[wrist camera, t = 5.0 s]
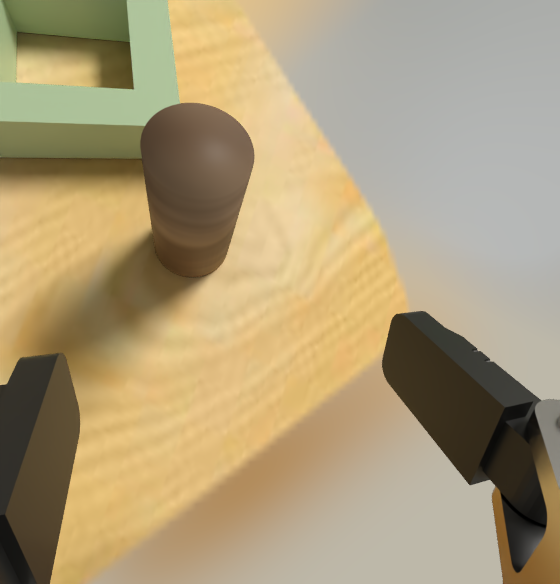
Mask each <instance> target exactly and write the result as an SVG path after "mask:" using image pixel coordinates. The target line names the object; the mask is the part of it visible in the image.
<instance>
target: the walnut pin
mask: <svg viewBox="0 0 560 584" xmlns="http://www.w3.org/2000/svg"><path fill="white" fill-rule="evenodd" d="M140 149H141V156H142V163H143V170H144V177H145V184H146V191H147V198H148V204H149V211H150V218H151V225H152V232H153V239H154V246H155V251H156V254H157V256H158V258H159V260H160V261H161V263H162V264H163V265H164V266H165V267H166V268H167V269H169V270H170V271H172V272H174V273H176V274H178V275H181V276H185V277H200V276H204V275H207V274H210V273H211V272H213V271H215V270H216V269H217V268H218V267H219V266H220V265H221V264H222V263H223V261H224V259H225V257H226V255H227V252H228V248H229V245H230V242H231V238H232V235H233V232H234V228H235V225H236V222H237V218H238V215H239V212H240V208H241V205H242V202H243V198H244V195H245V192H246V188H247V185H248V182H249V178H250V175H251V172H252V168H253V164H254V149H253V145H252V142H251V139H250V137H249V135H248V133H247V132H246V130H245V129H244V128H243V126H242V125H241V124H240V123H239V122H238V121H237V120H235V119H234V118H233V117H232V116H230V115H229V114H227V113H226V112H224V111H222V110H220V109H218V108H215V107H212V106H209V105H205V104H200V103H181V104H176V105H172V106H169V107H166V108H164V109H162V110H160V111H159V112H157V113H156V114H155V115H154V116H152V117H151V118H150V120H149V121H148V122H147V123H146V125H145V127H144V129H143V132H142V134H141V140H140Z"/></svg>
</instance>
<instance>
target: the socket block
mask: <svg viewBox="0 0 560 584" xmlns="http://www.w3.org/2000/svg"><path fill="white" fill-rule="evenodd" d="M17 32H24V33H35V34H46V35H57V36H68V37H79V38H90V39H101V40H112V41H123V42H130V47H131V59H132V71H133V83H134V89H116V88H99V87H82V86H65V85H47V84H30V83H16V56H17ZM176 104H180V101H179V92H178V84H177V76H176V67H175V59H174V51H173V43H172V34H171V26H170V18H169V9H168V1H167V0H0V157H8V158H118V159H142V156H141V149H140V140H141V134H142V132H143V129H144V127H145V125H146V123H147V122H148V121H149V120H150V118H151V117H152V116H154V115H155V114H156V113H157V112H159V111H160V110H162V109H164V108H166V107H169V106H172V105H176Z"/></svg>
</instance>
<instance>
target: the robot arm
mask: <svg viewBox="0 0 560 584" xmlns="http://www.w3.org/2000/svg"><path fill="white" fill-rule="evenodd" d="M382 368H383V372H384V376H385V378H386V380H387V382H388V383H389V385H391V387H392V388H393V389H394V391H395V392H396V393H397V395H398V396H399V397H400V398H401V400H402V401H403V402H404V403H405V405H406V406H407V407H408V408H409V410H410V411H411V412H412V413H413V414H414V416H415V417H416V418H417V419H418V421H419V422H420V423H421V425H422V426H423V427H424V428H425V430H426V431H427V432H428V434H429V435H430V436H431V437H432V438H433V440H434V441H435V442H436V443H437V445H438V446H439V447H440V448H441V450H442V451H443V452H444V454H445V455H446V456H447V457H448V458H449V460H450V461H451V462H452V464H453V465H454V466H455V467H456V469H457V470H458V471H459V472H460V474H461V475H462V476H463V477H464V479H465V480H466V481H467V482H468V484H469V485H473V484H476V483H480V482H483V481H486V480H491V481H492V482H493V484H495V488H494V490H493V493H492V503H493V510H494V518H495V525H496V533H497V540H498V547H499V554H500V562H501V570H502V577H503V584H560V400H554V399H548V400H543V401H541V400H540V399H539V398H538V397H536V396H535V395H534V394H533V393H531V392H530V391H529V390H527V389H526V388H525V387H524V386H523V385H521V384H520V383H519V382H518V381H516V380H515V379H514V378H513V377H512V376H510V375H509V374H508V373H507V372H505V371H504V370H503V369H502V368H501V367H499V366H498V365H497V364H496V363H494V362H490V359H489V358H488V357H487V356H486V355H484V354H483V353H482V352H481V351H477V348H476V347H474V346H473V345H472V344H471V343H470V342H468V341H467V340H466V339H465V338H464V337H462V336H460V335H458V334H456V333H454V332H452V331H450V330H448V329H446V328H445V327H443V326H442V325H441V324H440V323H439V322H437V321H436V320H435V319H434V318H433V317H431V316H430V315H429V314H428V313H426V312H424V311H418V312H409V313H401V314H396V315H395V316H394V317H393V318H392V321H391V325H390V329H389V333H388V338H387V342H386V346H385V351H384V355H383V360H382ZM79 432H80V413H79V407H78V402H77V399H76V395H75V391H74V387H73V383H72V379H71V375H70V371H69V367H68V364H67V360H66V357H65V355H64V354H63V353H56V354H48V355H39V356H31V357H22V358H20V359H19V360H18V362H17V364H16V366H15V368H14V371H13V373H12V375H11V377H10V379H9V381H8V383H7V384H6V385H0V584H50V580H51V575H52V570H53V565H54V559H55V554H56V549H57V544H58V539H59V534H60V529H61V524H62V519H63V514H64V509H65V504H66V499H67V494H68V489H69V484H70V479H71V474H72V469H73V464H74V459H75V454H76V449H77V444H78V439H79Z"/></svg>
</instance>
